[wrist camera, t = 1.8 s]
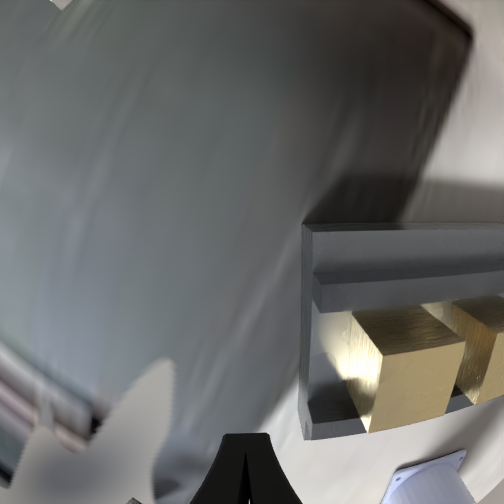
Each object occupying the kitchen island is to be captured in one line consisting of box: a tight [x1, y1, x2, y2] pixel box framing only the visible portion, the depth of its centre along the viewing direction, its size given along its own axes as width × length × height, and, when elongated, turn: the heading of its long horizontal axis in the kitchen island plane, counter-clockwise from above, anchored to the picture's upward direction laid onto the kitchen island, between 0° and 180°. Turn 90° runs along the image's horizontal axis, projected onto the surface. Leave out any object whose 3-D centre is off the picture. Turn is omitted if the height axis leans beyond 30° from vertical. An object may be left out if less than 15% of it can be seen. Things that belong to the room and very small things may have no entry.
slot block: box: [298, 222, 504, 440], centre depth 16 cm, size 12×20×5 cm, turn 92°
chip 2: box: [449, 297, 504, 405], centre depth 13 cm, size 4×4×4 cm
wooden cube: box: [345, 308, 466, 433], centre depth 13 cm, size 4×4×4 cm
